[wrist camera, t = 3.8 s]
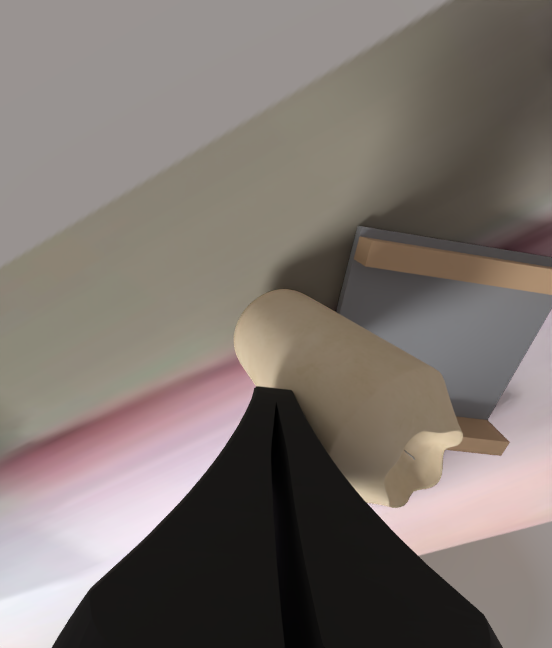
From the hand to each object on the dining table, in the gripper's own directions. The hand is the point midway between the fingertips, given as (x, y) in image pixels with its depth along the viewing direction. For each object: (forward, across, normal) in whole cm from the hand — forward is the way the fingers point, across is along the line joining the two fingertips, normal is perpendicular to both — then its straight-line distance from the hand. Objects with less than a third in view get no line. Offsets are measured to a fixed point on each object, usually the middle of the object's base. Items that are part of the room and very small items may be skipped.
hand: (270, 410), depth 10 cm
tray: (+8, -10, 0) cm, 13 cm away
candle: (+7, 0, 0) cm, 7 cm away
